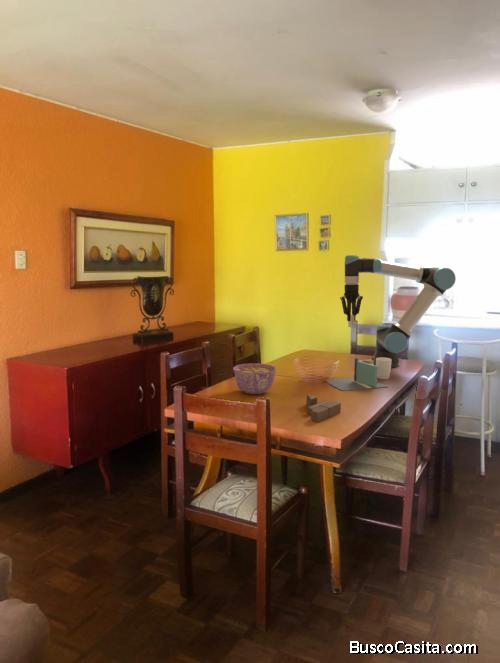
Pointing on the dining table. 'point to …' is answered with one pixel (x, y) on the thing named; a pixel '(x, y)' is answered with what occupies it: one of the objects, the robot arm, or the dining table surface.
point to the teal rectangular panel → (366, 373)
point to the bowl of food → (254, 377)
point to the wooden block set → (321, 408)
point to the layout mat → (352, 384)
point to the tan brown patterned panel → (364, 362)
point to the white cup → (383, 367)
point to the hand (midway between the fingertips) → (351, 327)
